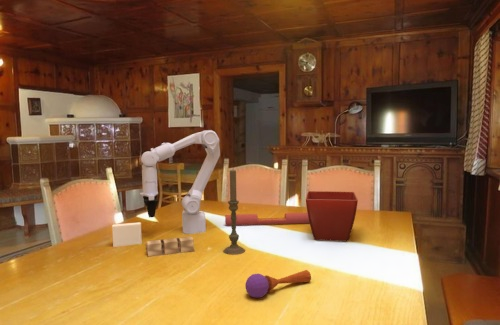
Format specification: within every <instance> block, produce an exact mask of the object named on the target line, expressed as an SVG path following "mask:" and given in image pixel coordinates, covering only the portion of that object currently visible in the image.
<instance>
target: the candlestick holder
mask: <svg viewBox="0 0 500 325" xmlns="http://www.w3.org/2000/svg"><path fill="white" fill-rule="evenodd" d="M239 203H240V201H239V200H237V171H236V169H230V170H229V200H228V201H227V204H228V205H229V206H228V210H230V211H231V213H230V215H231V220H232V221H231V222H232V226H231V233H230V234H229V235H228V239H229V241H230V245H229V246H226V247H225V248H224V249H223V251H222V252H223V253H224V254H225V255H232V256H234V255H235V256H236V255H237V256H239V255H242V254H245V252H246V249H245V248H244V247H242V246H239V245H238V241H239V238H240V236H239V234H238V233H237V230H236V229H237V226H236V219H237V217H236V215H237V213H236V212H237V211H238V209H239Z"/></svg>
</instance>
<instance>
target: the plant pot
mask: <svg viewBox="0 0 500 325" xmlns="http://www.w3.org/2000/svg"><path fill="white" fill-rule="evenodd" d="M358 201H359V200H358V197H357V195H356V193H355V192H354V191H323V190H321V191H319V190H317V191H314V190H313V191H307V194H306V197H305V204H306V205H305V206H306V210H307V212H306V213H308V217H309V222H310V224H309V225H310V229H311V233H312V235H313V236H312V237H313V238H314V240H315V241H332V242H334V241H335V242H348V241H349V239H350V237H351V234H352V231H353V228H354V224H355V220H356V214H357V210H358Z"/></svg>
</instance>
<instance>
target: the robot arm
mask: <svg viewBox="0 0 500 325" xmlns="http://www.w3.org/2000/svg"><path fill="white" fill-rule="evenodd" d="M193 144H198V145H202V147H203V148H204V150H205V152H206V157H205V158H204V161H203V163H202V164H201V168H200V170H199V171H198V173H197V176H196V177H195V180H194V182H193V184H192V186H191V188H190V189H189V190H188V192H187V194H186V195H185V196H184V197H183V198H182V200H181V206H182V207H183V210H182V212H181V216H182V217H181V218H182V221H181V223H182V233H183V234H186V235H192V234H198V233H199V234H200V233H206V232H207V230H206V229H207V226H206V225H207V224H206V214H205V212H204V211H200V209H201V201H202V198H203V193H204V191H205V188H206V187H207V184H208V182H209V180H210V178H211V175H212V173H213V172H214V169H215V167H216V165H217V163H218V160H219V158H220V157H221V150H220V149H221V148H220V138H219V136H218V134H217V133H216V132H215V131H214V130H212V129H208V130H202V131H200V132H195V133H193V134H189V135H188V136H185V137H184V138H181V139H179V140H178V141H175V142H174V143H171V142H163V143H161V144H160V145H159V146H157V147H155V148H154V147H152V148H150V151H145V152H143V153H142V154H141V158H140V160H141V163H142V166H141V169H142V170H141V176H142V177H141V178H142V180H141V182H142V191H141V192H139V195H140V196H142V199H143V203H144V204H145V206H146V211H147V215H148V218H155V217H156V211H157V206H158V203H159V201H160V200H159V198H157V197H158V195H159V191H158V169H157V163H158V162H163V161H165V160H166V159H168V158H171V157H173V156H174V155H175V153H176V151H178V150H181V149H183V148H187V147H188V146H191V145H193Z"/></svg>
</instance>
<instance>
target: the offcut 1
mask: <svg viewBox="0 0 500 325" xmlns="http://www.w3.org/2000/svg"><path fill="white" fill-rule="evenodd" d="M160 240H161V239H155V240H154V241H153V240H147V241H146V243H147V249H148V256H151V257H155V256H154V255H160V256H163V255H162V251H161V241H160Z"/></svg>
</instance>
